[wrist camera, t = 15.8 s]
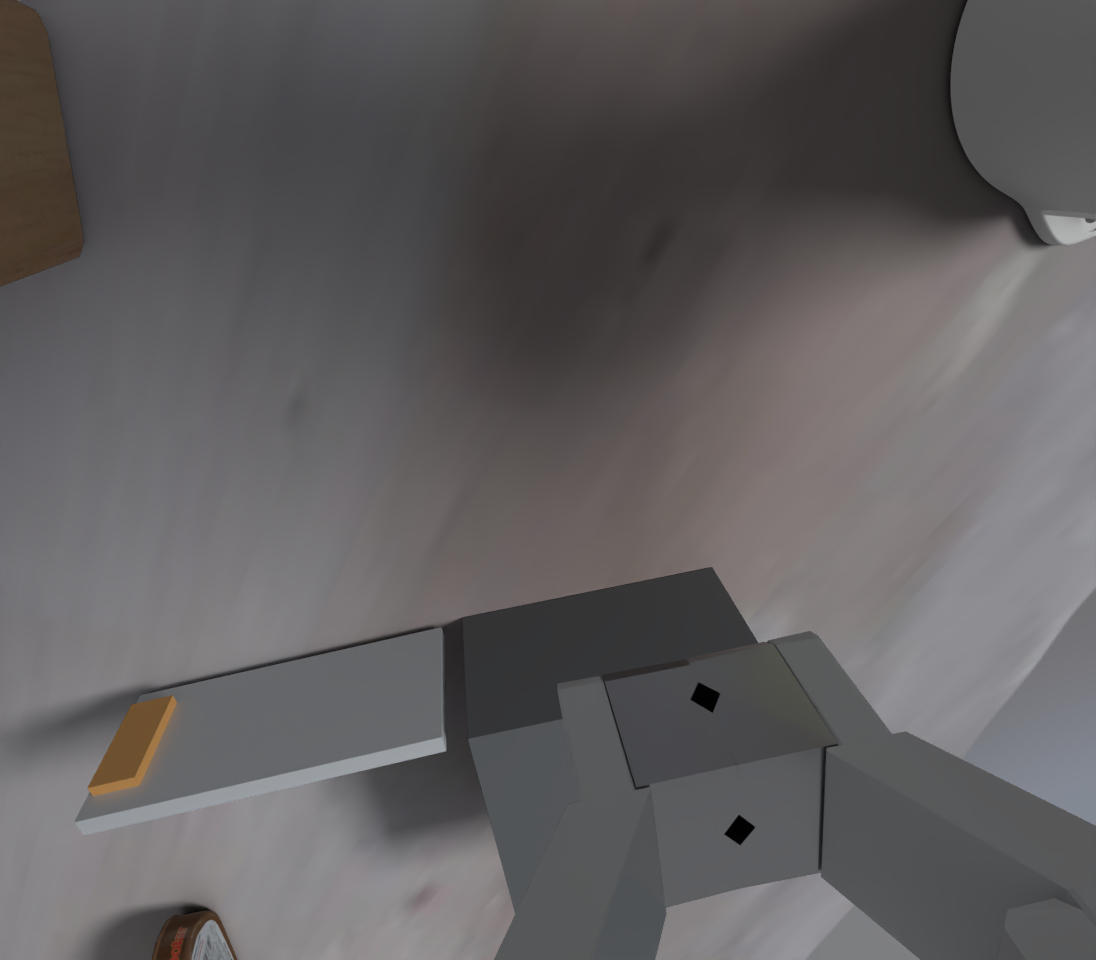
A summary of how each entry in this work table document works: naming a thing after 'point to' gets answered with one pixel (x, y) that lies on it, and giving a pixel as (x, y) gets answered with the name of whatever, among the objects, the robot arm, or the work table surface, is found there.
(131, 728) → the door
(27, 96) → the wooden block
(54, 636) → the work table surface
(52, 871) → the work table surface
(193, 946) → the tin
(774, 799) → the robot arm
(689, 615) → the cabinet body
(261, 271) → the work table surface
